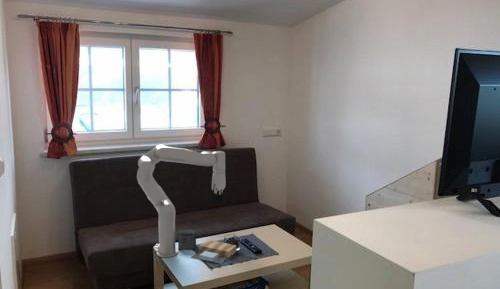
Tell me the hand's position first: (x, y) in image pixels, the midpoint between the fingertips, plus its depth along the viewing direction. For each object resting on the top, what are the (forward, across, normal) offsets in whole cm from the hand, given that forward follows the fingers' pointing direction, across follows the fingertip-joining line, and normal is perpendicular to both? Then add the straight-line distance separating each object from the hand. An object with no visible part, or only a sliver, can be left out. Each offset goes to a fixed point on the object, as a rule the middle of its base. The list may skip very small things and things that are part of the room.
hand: (219, 200), depth 241 cm
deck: (+29, +9, +4) cm, 31 cm away
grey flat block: (+26, +20, +4) cm, 33 cm away
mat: (+29, +18, +4) cm, 35 cm away
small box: (+29, +12, -16) cm, 36 cm away
